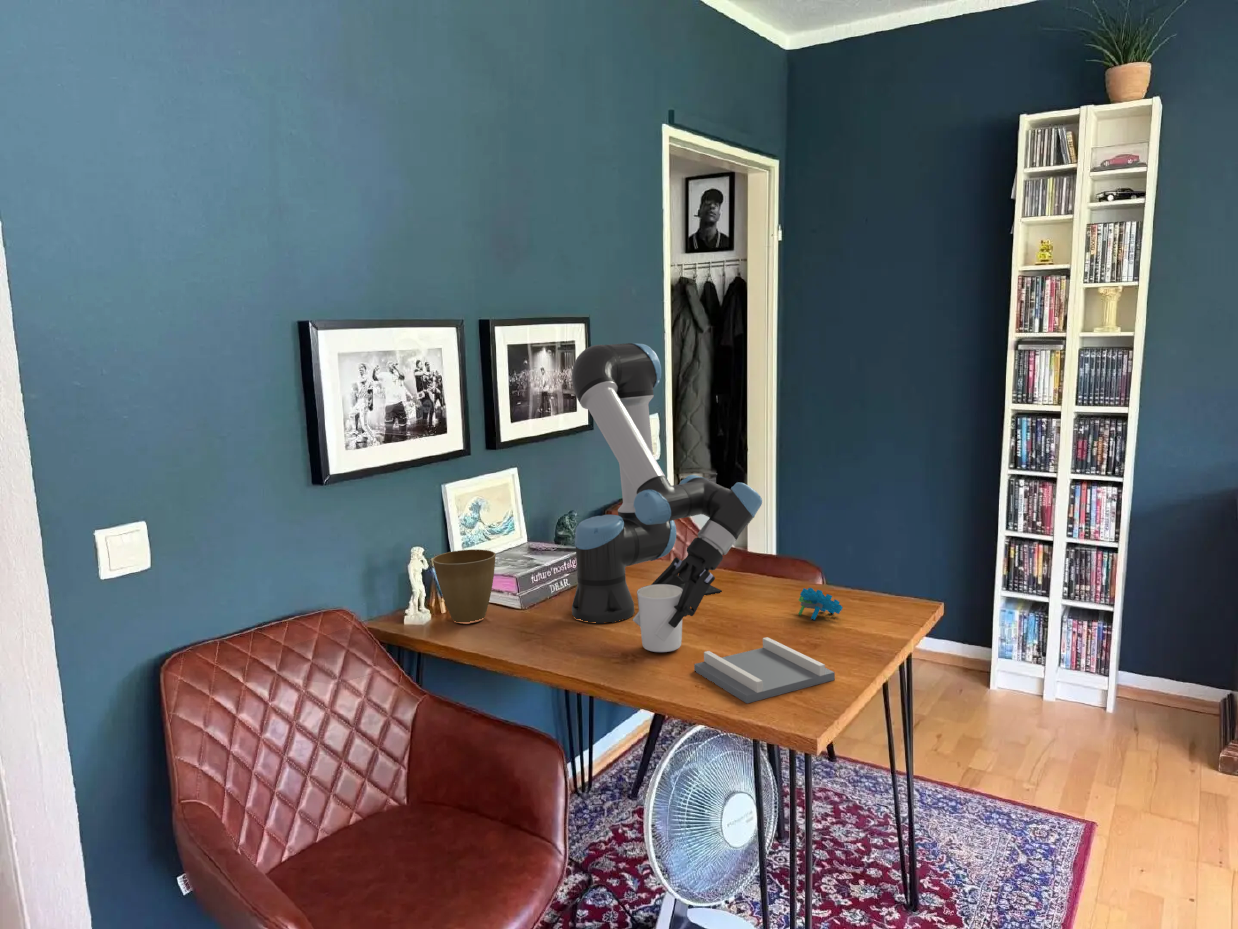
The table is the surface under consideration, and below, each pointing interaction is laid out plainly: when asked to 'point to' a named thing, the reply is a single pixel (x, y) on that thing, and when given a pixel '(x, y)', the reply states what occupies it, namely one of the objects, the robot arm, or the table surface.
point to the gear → (818, 602)
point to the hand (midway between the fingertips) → (648, 630)
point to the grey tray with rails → (763, 671)
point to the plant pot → (466, 582)
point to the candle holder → (658, 616)
